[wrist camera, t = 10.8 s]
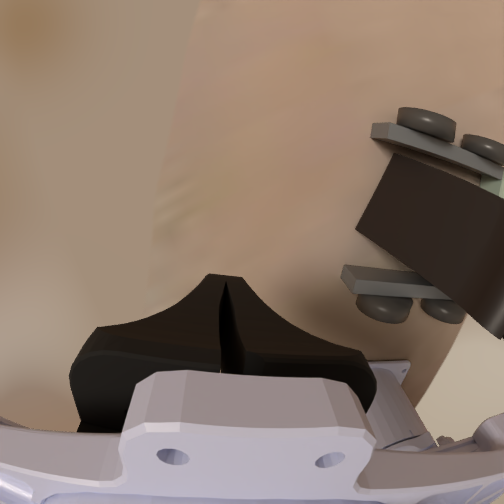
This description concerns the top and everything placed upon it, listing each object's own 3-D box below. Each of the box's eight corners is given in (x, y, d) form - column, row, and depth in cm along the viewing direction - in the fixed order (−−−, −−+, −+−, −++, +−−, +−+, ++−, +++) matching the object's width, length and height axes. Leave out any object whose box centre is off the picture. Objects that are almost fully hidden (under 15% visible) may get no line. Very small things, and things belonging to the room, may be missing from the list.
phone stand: (469, 211, 21) (580, 267, 10) (435, 274, 23) (530, 357, 12) (392, 151, 19) (527, 180, 8) (353, 227, 21) (457, 317, 10)
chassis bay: (453, 301, 24) (478, 323, 20) (336, 293, 23) (354, 322, 19) (493, 151, 20) (526, 157, 16) (375, 105, 18) (404, 100, 15)
